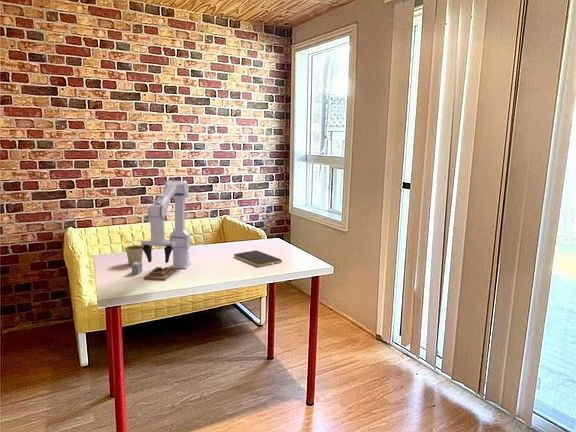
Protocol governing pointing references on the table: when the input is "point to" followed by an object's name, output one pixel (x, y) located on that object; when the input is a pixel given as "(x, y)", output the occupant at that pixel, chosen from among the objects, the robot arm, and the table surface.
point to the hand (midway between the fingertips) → (158, 262)
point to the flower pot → (134, 254)
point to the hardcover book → (257, 258)
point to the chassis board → (159, 274)
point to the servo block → (137, 268)
